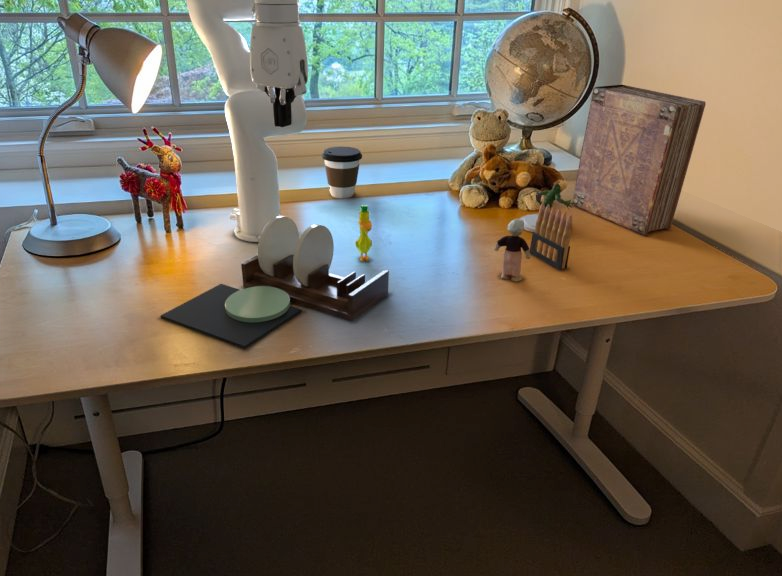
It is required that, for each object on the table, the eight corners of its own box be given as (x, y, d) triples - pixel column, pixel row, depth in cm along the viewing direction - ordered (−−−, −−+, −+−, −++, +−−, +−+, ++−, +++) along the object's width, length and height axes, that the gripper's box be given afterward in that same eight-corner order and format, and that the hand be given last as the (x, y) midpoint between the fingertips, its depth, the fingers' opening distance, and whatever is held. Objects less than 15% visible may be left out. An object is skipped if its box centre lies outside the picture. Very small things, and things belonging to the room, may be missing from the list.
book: (671, 230, 158) (707, 102, 142) (644, 236, 155) (678, 105, 139) (596, 200, 177) (620, 84, 161) (571, 205, 174) (593, 86, 158)
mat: (160, 318, 117) (160, 315, 116) (221, 286, 128) (221, 283, 128) (245, 349, 108) (244, 346, 108) (301, 311, 119) (301, 309, 119)
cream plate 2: (294, 295, 122) (291, 235, 116) (330, 273, 131) (329, 216, 124) (298, 296, 122) (295, 236, 115) (334, 274, 130) (333, 217, 124)
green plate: (224, 320, 113) (292, 314, 115) (225, 289, 123) (287, 283, 124) (225, 325, 114) (292, 319, 115) (225, 293, 123) (288, 287, 125)
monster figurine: (577, 228, 159) (586, 187, 153) (544, 237, 153) (551, 195, 148) (541, 214, 167) (548, 175, 162) (508, 222, 161) (514, 182, 156)
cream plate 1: (259, 284, 126) (254, 226, 119) (296, 263, 134) (294, 208, 128) (263, 285, 125) (259, 227, 119) (300, 264, 134) (298, 209, 128)
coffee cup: (332, 203, 172) (332, 158, 166) (316, 191, 180) (315, 148, 174) (368, 197, 176) (369, 153, 170) (351, 187, 185) (351, 144, 178)
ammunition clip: (566, 269, 138) (577, 215, 131) (560, 270, 137) (570, 216, 131) (535, 251, 146) (543, 199, 139) (528, 252, 145) (537, 200, 139)
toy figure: (375, 265, 138) (377, 211, 131) (359, 266, 137) (360, 212, 131) (368, 253, 143) (369, 201, 137) (353, 254, 143) (353, 202, 136)
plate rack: (243, 287, 128) (240, 263, 125) (283, 265, 137) (282, 242, 135) (352, 321, 117) (352, 296, 114) (388, 295, 126) (389, 270, 123)
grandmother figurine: (528, 276, 134) (537, 218, 127) (526, 283, 131) (535, 224, 124) (492, 271, 136) (499, 213, 130) (488, 278, 133) (496, 219, 126)
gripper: (230, 14, 112) (239, 124, 121) (298, 19, 105) (303, 134, 115) (257, 12, 117) (265, 117, 127) (325, 16, 110) (327, 127, 120)
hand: (283, 125), depth 121 cm, fingers closed
